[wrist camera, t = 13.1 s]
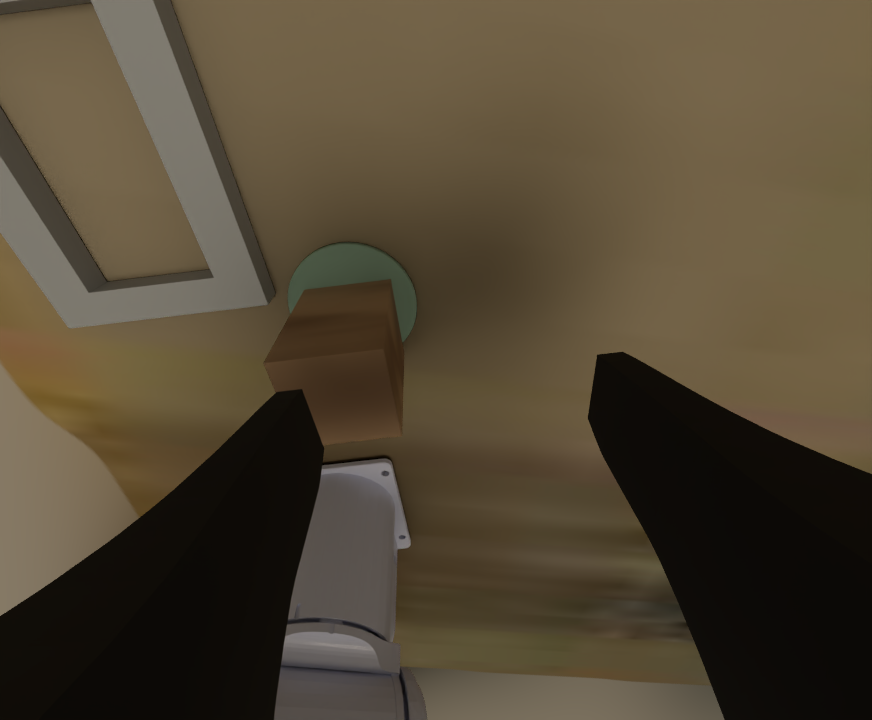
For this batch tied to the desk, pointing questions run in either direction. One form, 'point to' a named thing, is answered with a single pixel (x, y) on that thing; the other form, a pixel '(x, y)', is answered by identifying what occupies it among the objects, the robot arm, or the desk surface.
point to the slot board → (188, 171)
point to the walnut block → (344, 360)
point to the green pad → (355, 276)
